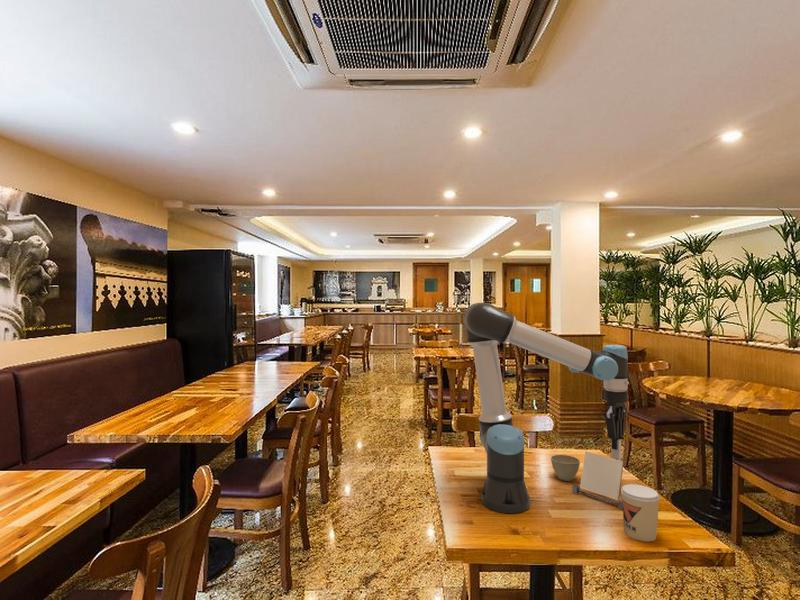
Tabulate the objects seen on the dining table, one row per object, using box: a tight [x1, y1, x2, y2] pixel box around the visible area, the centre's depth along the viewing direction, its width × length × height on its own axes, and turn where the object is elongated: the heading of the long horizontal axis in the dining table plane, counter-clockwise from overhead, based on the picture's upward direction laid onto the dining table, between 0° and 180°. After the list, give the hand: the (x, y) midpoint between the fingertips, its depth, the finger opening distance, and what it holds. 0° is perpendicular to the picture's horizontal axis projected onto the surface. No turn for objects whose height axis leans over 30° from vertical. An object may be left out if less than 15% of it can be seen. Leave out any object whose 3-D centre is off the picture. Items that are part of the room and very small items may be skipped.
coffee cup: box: [620, 484, 660, 542], centre depth 121 cm, size 9×9×12 cm
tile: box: [579, 451, 625, 501], centre depth 143 cm, size 12×12×2 cm
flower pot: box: [550, 454, 581, 482], centre depth 159 cm, size 10×10×7 cm
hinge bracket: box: [571, 484, 623, 511], centre depth 141 cm, size 2×17×2 cm, turn 41°
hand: (616, 457), depth 151 cm, fingers closed
